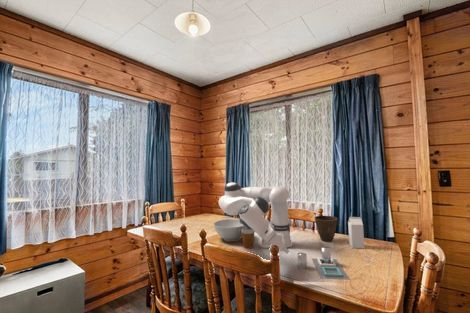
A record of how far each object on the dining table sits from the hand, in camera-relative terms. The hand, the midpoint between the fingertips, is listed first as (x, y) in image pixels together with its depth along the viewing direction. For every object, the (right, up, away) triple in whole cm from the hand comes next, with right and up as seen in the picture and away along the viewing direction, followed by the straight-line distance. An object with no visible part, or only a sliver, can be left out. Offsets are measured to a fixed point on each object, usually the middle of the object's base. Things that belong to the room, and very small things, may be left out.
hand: (285, 248), depth 118 cm
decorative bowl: (-28, -15, +55) cm, 64 cm away
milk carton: (+54, -12, +32) cm, 64 cm away
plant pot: (+39, -13, +46) cm, 62 cm away
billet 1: (+9, -11, +1) cm, 15 cm away
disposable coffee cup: (-16, -14, +37) cm, 43 cm away
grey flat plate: (+22, -11, -1) cm, 25 cm away
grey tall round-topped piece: (+23, -9, +4) cm, 25 cm away
